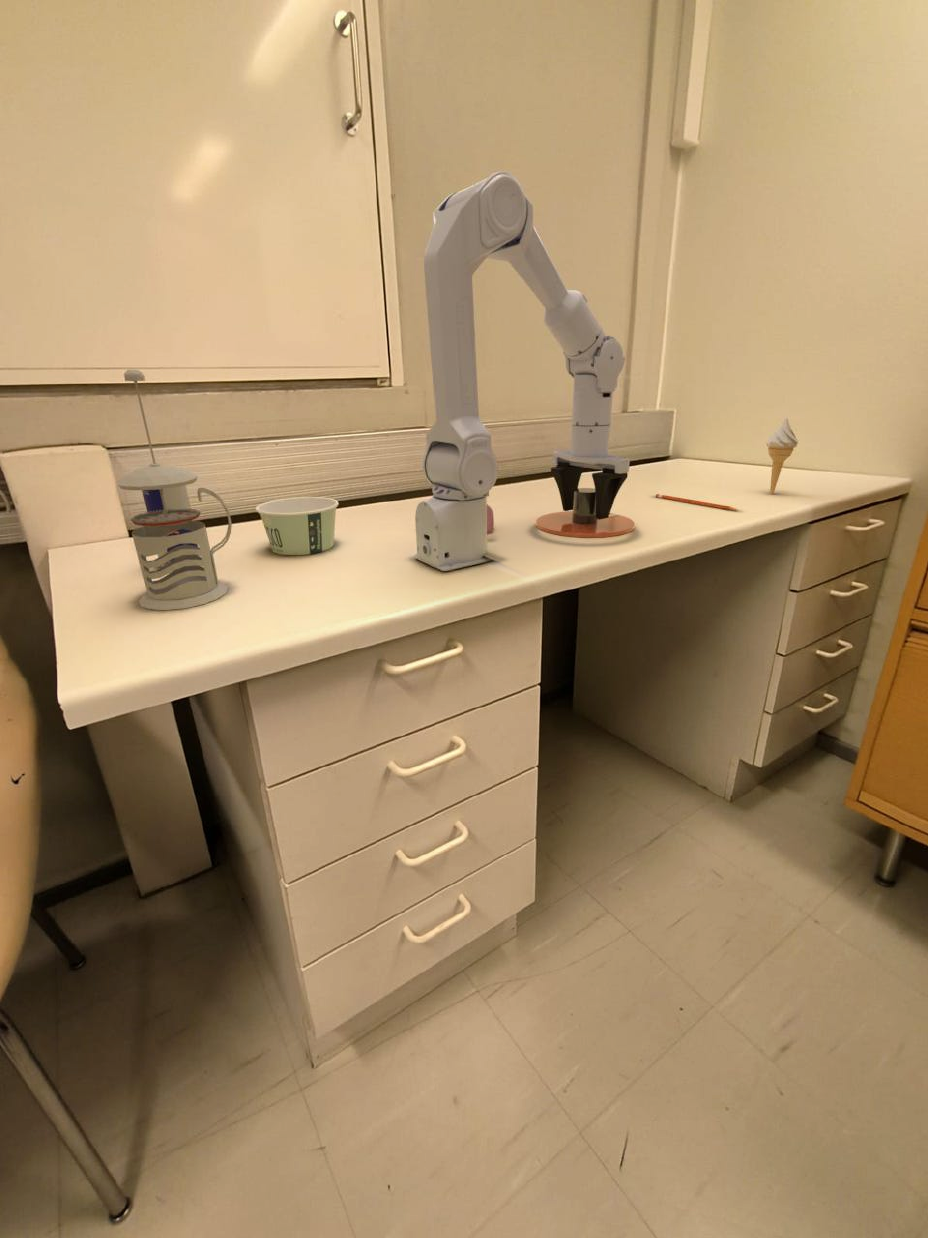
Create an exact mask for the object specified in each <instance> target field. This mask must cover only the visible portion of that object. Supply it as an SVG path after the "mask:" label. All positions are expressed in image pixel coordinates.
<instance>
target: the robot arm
mask: <svg viewBox="0 0 928 1238" xmlns="http://www.w3.org/2000/svg"><path fill="white" fill-rule="evenodd" d="M432 213H433V228H432V230H431V234H430V237H429V240H428V243H427V247H426V250H425V253H424V256H423V272H424V283H425V285H424V286H425V297H426V298H425V299H426V309H427V323H428V333H429V347H430V360H431V368H432V369H431V371H432V373H431V374H432V383H433V384H432V385H433V396H434V408H435V410H434V411H435V422H434V423H433V425H432V426H431V427H430V429H429V430H428V431H427V432H426V435H425V437H426V447H425V448H426V449H425V452H424V456H423V459H422V471H423V475H424V477H425V479H426V481H428V483H429V484H430V485H431V491H432V492H431V493H432V494H433V496H432V497H431V498H429V499H426V500H422V501H420V502H419V503H418V504H417V506H416V509H415V514H414V515H415V516H414V520H415V540H416V554H414V558H415V559H416V560H418V561H420V562H423V563H425V564H427V565H429V566H431V567H433V568H435V569H438V570H439V571H442V572H448V571H452V570H457V569H461V568H466V567H470V566H473V565H478V564H479V565H480V564H483V563H488V562H491V561H494V559H493V558H490V557H488V556H485V554H487V552H488V534H487V504H488V497H490V491H491V490H492V489H493V487H494V486H495V484H496V481H497V479H498V475H499V464H498V463H499V462H498V459H497V457H496V455H495V453H494V451H493V446H492V437H491V433H490V432H489V430H488V429H487V427H486V426H485V424H484V423H483V422H482V420H481V419H480V414H479V413H480V412H479V411H480V410H479V394H478V391H479V390H478V373H477V353H476V349H477V348H476V332H475V312H474V311H475V310H474V309H475V308H474V293H473V276H474V274H475V272H476V271H477V270H478V269H479V268H480V267H481V265H482V264H483V263H484V262H485V261H486V259H489V260H495V261H502V262H507V263H509V264H510V266H511V267H512V268H513V269H514V270H515V272H516V273H517V274H518V276H519V277H520V278H521V280H523V282H524V283H525V284H526V285H527V287H528V288H529V289H530V290H531V293H533V295H534V296H535V297H536V298H537V299H538V301H539V302H540V303H541V305H542V306H543V307H544V308H545V309H544V316H543V322H544V324H545V326H546V327H547V329H548V330H549V332H550V333H551V335H552V336H553V338H554V339H555V340H556V342H557V343H558V345H559V346H560V347H561V350H562V351H563V352H562V353H563V355H564V357H565V368H566V371H567V374H568V375H570V376H571V377H572V378H573V392H572V393H573V394H572V395H573V396H572V415H571V433H570V434H571V436H570V450H553V451H552V457H551V463H552V464H555V466H552V467H550V474H551V475H552V477H553V479H554V481H555V483H556V486H557V489H558V492H559V496H560V497H559V498H560V501H561V505H562V512H565V511H573V495H574V490H575V489H578V488H579V484H580V481H581V477H582V473H583V471H584V468H587V469H593V470H600V471H598V472H593V473H591V477H592V481H593V485H594V489H595V492H596V519H604V518H608V517H609V514H610V513H611V510H612V508H613V505H614V502H615V500H616V498H617V495H618V493H619V491H620V490H621V487H622V486H623V484H624V483H625V481H626V480H627V479H628V475H629V472H630V463H631V459H630V458H625V457H621V456H617V455H613V454H612V453H611V452H609V446H610V433H611V422H612V421H611V420H612V409H613V394H614V392H616V388H617V387H618V379H619V376H620V374H621V372H622V370H623V368H624V367H625V361H626V356H624V351H623V347H622V345H621V343H620V342H619V341H618V340H617V338H615V337H614V336H611V335H607V334H606V332H605V330H604V328H603V326H602V325H601V323H600V322H599V321H598V319H597V318H596V316H595V314H594V312H593V311H592V309H591V308H590V306H589V305H588V299H587V297H586V295H585V293H581V292H580V291H579V290H575V289H570V290H569V289H567V287H566V285H565V283H564V280H563V279H562V277H561V275H560V273H559V271H558V270H557V268H556V265H555V264H554V262H553V260H552V258H551V256H550V255H549V252H548V251H547V248H546V247H545V245H544V243H543V241H542V240H541V239H542V238H541V237H540V236H539V233H538V232H537V230H536V228H535V224H534V206H533V204H532V202H531V201H530V199H529V198H527V196H526V195H525V192H524V189H523V187H522V185H521V183H520V182H519V180H518V179H517V178H516V177H515V176H514V175H513V174H511V173H510V172H508V171H503V170H501V171H497V172H494V173H492V174H490V176H488V177H487V178H485V179H482V180H481V181H479V182H477V183H475V184H473V185H470V186H468V187H467V188H464V189H462V190H460V191H455V192H453V193H451V194H449V195H448V196H447V197H446V198H445V199H444V200H443V201H441V203H440V204H439V205H438V206H437V207H436V208H435V209H434V211H433V212H432Z"/></svg>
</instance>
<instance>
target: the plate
mask: <svg viewBox="0 0 928 1238" xmlns="http://www.w3.org/2000/svg"><path fill="white" fill-rule="evenodd" d="M635 525H636V523H635V521H634V520H633V519H631V518H630V517H627V516H624V515H620V514H617V513H611V512H610V514H609V517H608V518H604V519H596V492H595V487H594V488H592V487H578V489H575V490H574V495H573V510H569V511H557V512H551V513H547V514H543V515H541V516H539V517H538V518H536V520H535V527H537V528H538V529H539V530H541V531H543V532H545V533H548V534H553V535H558V536H562V537H569V538H570V537H571V538H593V539H594V538H607V537H608V538H609V537H616V536H617V537H618V536H622V535H625V534H628V533H630V532H632V531H633V530H634V529H635Z"/></svg>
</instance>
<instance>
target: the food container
mask: <svg viewBox="0 0 928 1238" xmlns="http://www.w3.org/2000/svg"><path fill="white" fill-rule="evenodd" d="M337 507H339V501H338V500H337V499H333V498H330V497H324V496H298V497H287V498H280V499H275V500H274V499H273V500H269V501H267V502H263V503H260V504H258V505H256V507H255V511H256V513H258V514H259V516H260V519H261V521H262V524H263V527H264V530H265V533H266V537H267V539H268V542H269V544H270V547H271V551H272V552H273V553H275V554H278V555H282V556H307V555H313V554H317V553H322V552H325V551H327V550H330V549H331V548H333V547H334V545H335V532H336V531H335V529H336V512H337V511H336V510H337Z"/></svg>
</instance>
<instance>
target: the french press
mask: <svg viewBox="0 0 928 1238" xmlns="http://www.w3.org/2000/svg"><path fill="white" fill-rule="evenodd" d="M123 375H124V381H125V382H133V383H134V385H135V389H136V394H137V398H138V403H139V408H140V412H141V416H142V421H143V424H144V428H145V429H144V430H145V434H146V437H147V443H148V446H149V450H150V455H151V459H152V463H150V464H149V465H147V466H142V467H138V468H137V469H134V470H133V471H131V472H129V473H128V474H125V475H124V476H123V477H121V478H120V479H119V480H118V481H116V484H117V486H118V487H119V488H120V489H121V490H126V491H142V490H157V489H159V490H160V494H161V499H162V503H163V507H164V511H163V510H162V511H161V510H159V511H158V510H156V512H155V511H153V512H152V511H151V512H152V513H151V512H148V513H147V511H145V512H144V513H142V512H141V513H139V514H137V515H134V516H133V517H132V518H131V519H130V521H131V522H132V523H133V524H134V525H136V526H141V527H139V528H136V529H134V530H132V532H131V537H132V539H133V543H134V548H135V552H136V555H137V559H138V563H139V567H140V570H141V574H142V579H143V582H144V586H145V589H146V592H145V593H143V595H142V596H141V598H140V599H139V601H138V603H139V604H140V607H142V608H145V609H148V610H156V611H171V610H183V609H188V608H192V607H196V606H202V605H205V604H207V603H211V602H213V601H216V600H219V598H222V596H225V595H226V593H227V591H228V590H229V588H228V587H227V586H226V585H225V584H224V583H223V582H222V581H220V580H219V578H218V573H217V568H216V563H215V559H214V554H215V553H216V552H217V551H219V550H221V549H222V548H224V546H225V545H226V544H227V543H228V541H229V540H230V536H231V534H232V527H233V522H232V518H231V513H230V510H229V508H228V506H227V504H226V503H225V501H224V500H223V498H222V497H221V496H220V495H219V494H217V493H216V492H214V491H213V490H210V489H208V488H205V487H199V488H198V489H197V493H196V494H197V498H198V501H199V502H200V503H202V502H203V501H202V493H204V494H207V495H210V496H212V497H213V498H215V499H216V500H218V502H219V504H221V506H222V507H223V508H224V510H225V512H226V515H227V519H228V520H227V521H228V524H227V531H226V534H225V536H224V537H223V538H222V539H221V541H219V542H218V543H217V544H215V545H213V546H212V547H211V546H210V543H209V542H210V541H209V537H208V533H207V527H206V524H205V523H204V522H203V521H198V520H196V519H198V518H199V517H200V516H201V511H199V510H198V509H195V508H191V509H189V508H187V509H186V508H185V509H184V508H183V509H181V508H180V509H179V508H178V510H176V509H175V510H173V509H172V510H170V509H169V510H167V509H166V507H165V502H164V498H163V494H162V489H166V488H174V487H180V486H185V485H186V486H189V485H192V484H195V483H196V482H197V481H198V478H199V477H198V475H196V474H195V473H193V472H191V471H190V470H188V469H185V468H182V467H177V466H173V465H169V464H160V463H159V462H156V459H155V454H154V450H153V447H152V442H151V438H150V437H151V436H150V433H149V428H148V425H147V421H146V416H145V412H144V408H143V407H144V406H143V403H142V399H141V398H142V397H141V394H140V389H139V385H138V382H145V381H146V377H145V374H144V373H143V372H142V371H141V370H139V369H137V368H136V369H135V368H131V369H127V370H126V371H125V372H124V374H123ZM157 511H158V512H157ZM191 520H193V521H191ZM180 529H185V530H190V531H193V532H189V533H185V534H180V535H173V536H166V535H168V534H169V533H170V532H174V531H177V530H180ZM165 536H166V537H165ZM183 543H194V544H199V548H198V547H196V546H192V545H186V544H185V545H181V546H177V547H175V548H173V549H172V550H170V551H169V552H167V553H166V554H164V555H163V556H161V557H159V558H158V557H156V558H155V559H153V560H148V559H147V558H148V557H152V556H158V554H159V553H160V552H162V551H164V550H166V549H168V548H169V547H172V546H175V545H178V544H183ZM182 555H183V556H182ZM195 555H200V556H201V557H199V556H195ZM176 557H177V558H176ZM174 558H175V559H174ZM171 559H174V560H172V561H171V562H169V563H168V564H167V565H165V566H163V567H162V566H160V565H162V564H164V563H166V562H168V561H170V560H171ZM158 567H160V568H158ZM153 568H157V569H156V570H150V569H153ZM154 579H157V580H154Z"/></svg>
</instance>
